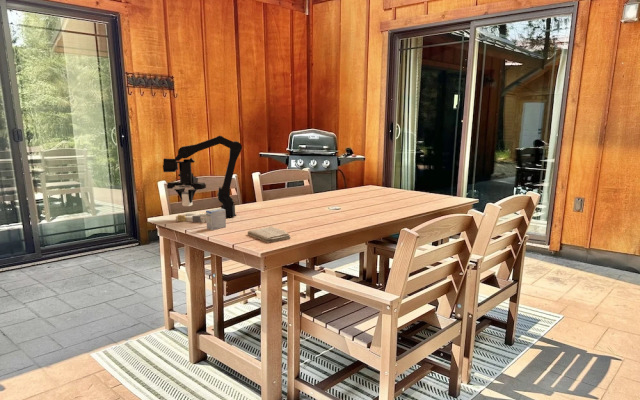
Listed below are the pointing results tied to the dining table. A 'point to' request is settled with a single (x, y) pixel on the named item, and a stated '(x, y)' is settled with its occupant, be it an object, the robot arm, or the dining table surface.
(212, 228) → the medicine box
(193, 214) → the socket block
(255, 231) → the washcloth
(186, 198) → the plug
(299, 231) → the dining table surface
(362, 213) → the dining table surface
